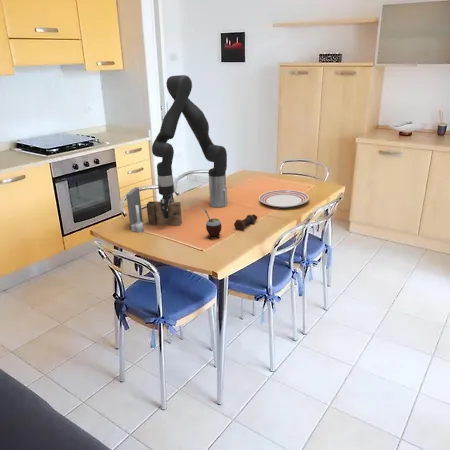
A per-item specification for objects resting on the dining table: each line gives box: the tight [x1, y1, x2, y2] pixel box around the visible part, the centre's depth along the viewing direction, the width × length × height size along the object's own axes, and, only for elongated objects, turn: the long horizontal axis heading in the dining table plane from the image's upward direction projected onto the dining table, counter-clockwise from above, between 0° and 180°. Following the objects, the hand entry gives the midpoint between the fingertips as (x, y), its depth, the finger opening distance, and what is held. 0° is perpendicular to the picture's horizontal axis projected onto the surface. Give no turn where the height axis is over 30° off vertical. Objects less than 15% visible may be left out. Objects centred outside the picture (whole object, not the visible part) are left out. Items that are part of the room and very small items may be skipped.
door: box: [146, 201, 183, 226], centre depth 213 cm, size 16×5×11 cm, turn 81°
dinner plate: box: [258, 189, 310, 209], centre depth 239 cm, size 28×27×3 cm
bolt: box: [233, 214, 258, 232], centre depth 208 cm, size 6×5×15 cm
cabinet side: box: [125, 187, 144, 233], centre depth 210 cm, size 7×15×18 cm, turn 171°
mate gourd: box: [199, 206, 222, 240], centre depth 195 cm, size 8×8×15 cm
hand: (168, 215), depth 213 cm, fingers open, 8 cm apart
